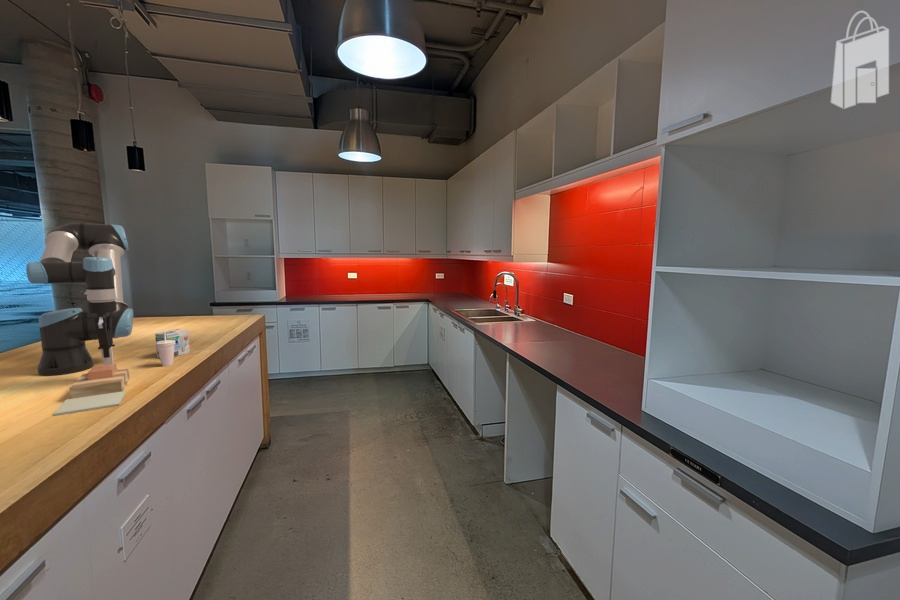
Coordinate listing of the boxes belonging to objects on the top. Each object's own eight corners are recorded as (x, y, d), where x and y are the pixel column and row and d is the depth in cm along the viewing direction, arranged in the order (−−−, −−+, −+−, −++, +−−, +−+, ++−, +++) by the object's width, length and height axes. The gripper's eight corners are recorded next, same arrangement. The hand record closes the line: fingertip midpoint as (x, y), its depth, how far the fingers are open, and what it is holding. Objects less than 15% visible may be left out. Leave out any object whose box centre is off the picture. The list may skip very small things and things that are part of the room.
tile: (94, 373, 129) (93, 366, 129) (117, 370, 133) (116, 363, 132) (88, 379, 123) (87, 372, 122) (112, 376, 126) (111, 369, 126)
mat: (66, 401, 115) (66, 399, 115) (125, 392, 123) (125, 390, 123) (53, 415, 105) (53, 413, 105) (119, 405, 113) (119, 403, 113)
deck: (84, 384, 129) (82, 373, 129) (129, 379, 136) (128, 368, 135) (70, 400, 116) (69, 388, 115) (121, 393, 122) (120, 381, 122)
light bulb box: (168, 359, 161) (166, 334, 159) (156, 357, 162) (154, 333, 161) (190, 352, 171) (189, 329, 170) (178, 351, 173) (177, 328, 171)
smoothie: (155, 368, 148) (153, 333, 147) (159, 363, 154) (156, 330, 152) (175, 366, 151) (173, 332, 150) (178, 361, 157) (176, 329, 155)
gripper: (91, 299, 135) (98, 362, 138) (82, 303, 125) (89, 372, 128) (119, 298, 139) (125, 359, 142) (112, 302, 129) (118, 368, 132)
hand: (108, 365), depth 135 cm, fingers closed
